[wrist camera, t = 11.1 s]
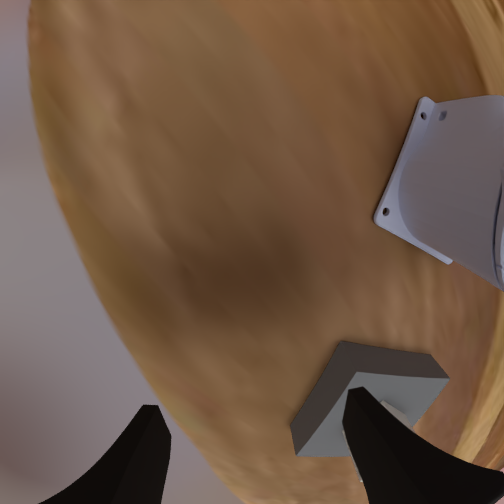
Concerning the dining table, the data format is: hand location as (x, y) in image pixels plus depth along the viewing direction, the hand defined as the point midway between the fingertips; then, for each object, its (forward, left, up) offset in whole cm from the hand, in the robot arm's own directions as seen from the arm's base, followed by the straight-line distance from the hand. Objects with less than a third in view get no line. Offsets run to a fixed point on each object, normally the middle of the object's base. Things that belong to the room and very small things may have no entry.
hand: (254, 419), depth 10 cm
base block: (+5, +13, -10) cm, 17 cm away
